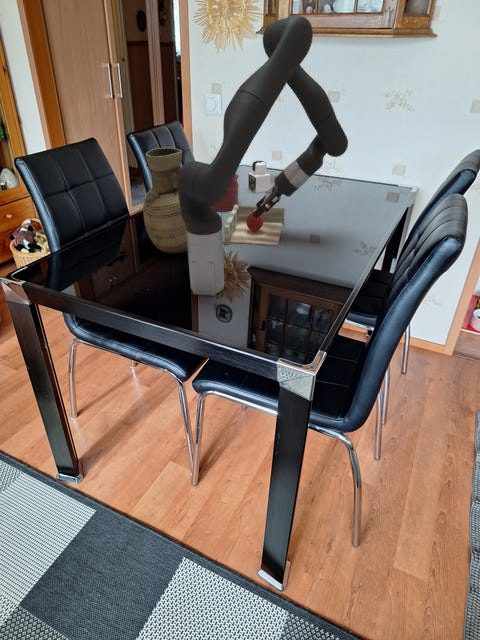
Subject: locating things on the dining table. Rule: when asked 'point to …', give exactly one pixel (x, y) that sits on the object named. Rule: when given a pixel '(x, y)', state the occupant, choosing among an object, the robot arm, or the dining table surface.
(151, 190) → the ceramic vessel
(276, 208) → the tray
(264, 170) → the medicine bottle
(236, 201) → the canister
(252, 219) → the pomegranate
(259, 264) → the dining table surface
